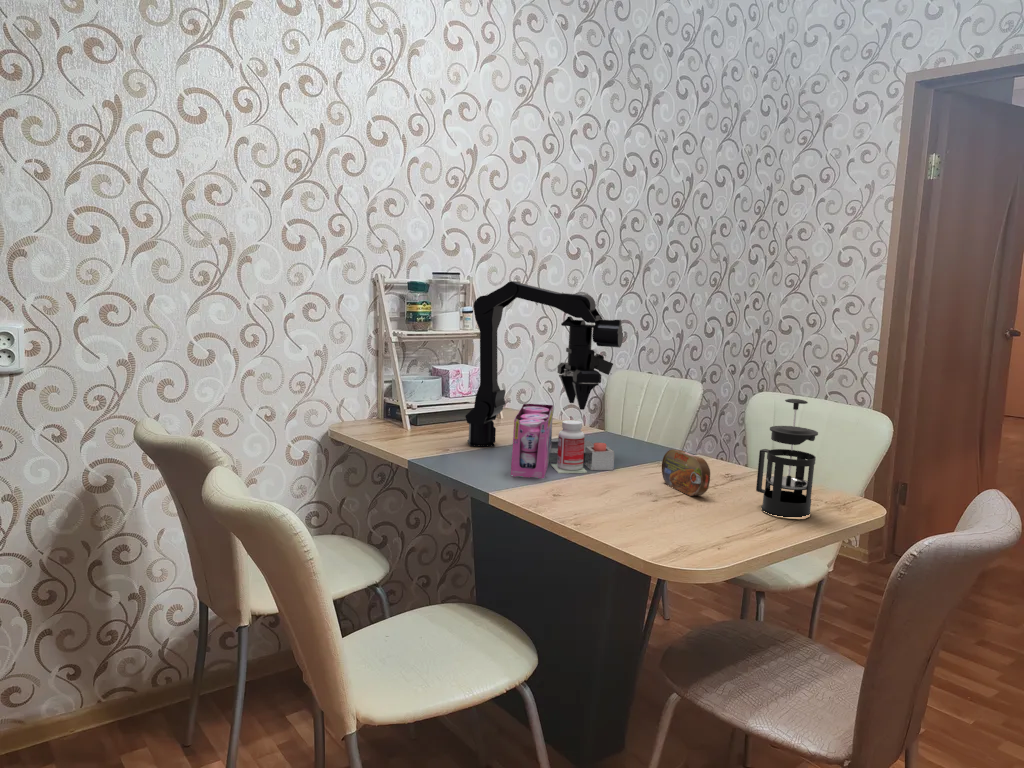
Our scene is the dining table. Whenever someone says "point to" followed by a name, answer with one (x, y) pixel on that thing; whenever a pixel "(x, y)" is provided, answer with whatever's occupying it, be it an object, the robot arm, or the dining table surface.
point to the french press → (787, 500)
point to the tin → (686, 472)
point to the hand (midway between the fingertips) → (576, 406)
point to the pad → (567, 470)
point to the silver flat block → (554, 450)
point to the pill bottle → (571, 446)
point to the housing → (599, 458)
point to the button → (599, 447)
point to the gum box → (532, 440)
